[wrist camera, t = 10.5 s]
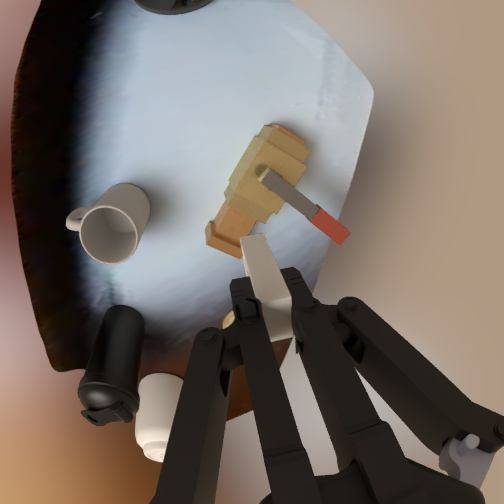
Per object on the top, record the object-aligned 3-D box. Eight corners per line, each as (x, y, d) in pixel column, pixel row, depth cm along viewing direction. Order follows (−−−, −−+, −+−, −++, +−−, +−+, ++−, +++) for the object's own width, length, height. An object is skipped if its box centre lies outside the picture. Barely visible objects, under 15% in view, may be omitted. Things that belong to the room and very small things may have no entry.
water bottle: (92, 308, 51) (60, 402, 31) (134, 295, 52) (113, 396, 31) (116, 343, 56) (99, 435, 36) (157, 333, 56) (150, 431, 36)
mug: (153, 185, 43) (140, 208, 34) (148, 235, 47) (137, 268, 37) (83, 179, 40) (55, 200, 31) (83, 228, 44) (58, 259, 34)
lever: (254, 177, 38) (259, 184, 35) (265, 163, 38) (271, 168, 35) (330, 235, 45) (340, 245, 41) (340, 223, 44) (350, 232, 41)
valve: (264, 119, 41) (276, 121, 35) (301, 142, 44) (318, 148, 38) (201, 227, 48) (202, 246, 42) (238, 244, 50) (244, 264, 44)
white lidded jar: (176, 366, 62) (177, 442, 45) (196, 395, 68) (202, 463, 51) (130, 376, 62) (122, 448, 44) (153, 403, 68) (152, 468, 50)
